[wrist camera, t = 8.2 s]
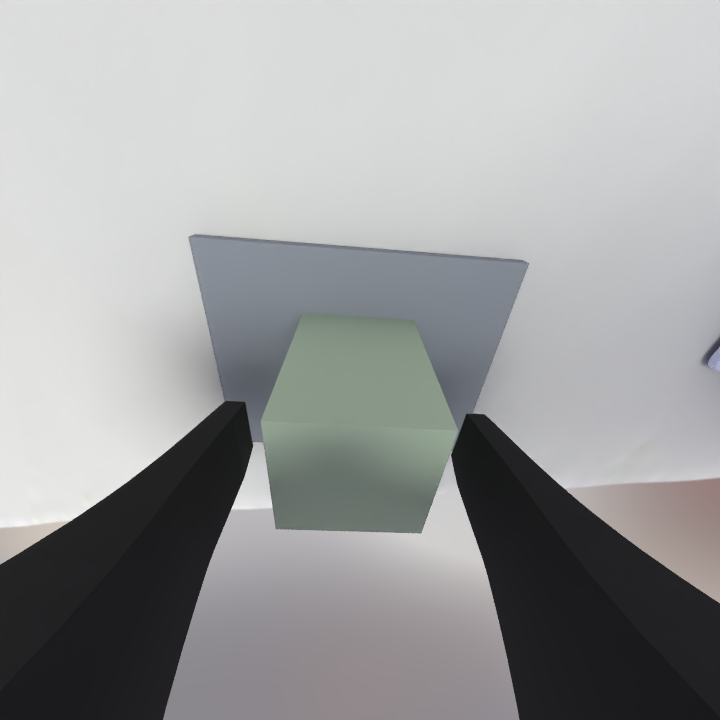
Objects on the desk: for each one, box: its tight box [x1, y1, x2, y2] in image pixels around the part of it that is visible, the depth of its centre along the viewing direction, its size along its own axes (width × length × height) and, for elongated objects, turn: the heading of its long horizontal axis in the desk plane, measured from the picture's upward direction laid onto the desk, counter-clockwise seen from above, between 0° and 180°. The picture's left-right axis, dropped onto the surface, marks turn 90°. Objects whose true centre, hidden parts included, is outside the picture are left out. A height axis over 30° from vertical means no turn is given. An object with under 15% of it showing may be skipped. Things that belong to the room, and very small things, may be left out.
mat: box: [189, 235, 529, 451], centre depth 13 cm, size 12×10×1 cm
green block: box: [261, 313, 458, 533], centre depth 10 cm, size 4×4×6 cm
